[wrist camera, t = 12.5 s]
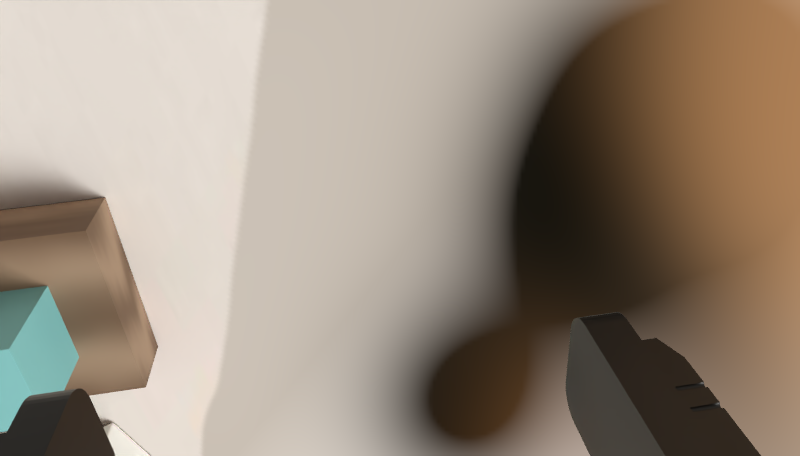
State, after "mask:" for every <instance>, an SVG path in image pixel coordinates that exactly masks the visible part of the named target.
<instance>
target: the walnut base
mask: <svg viewBox="0 0 800 456" xmlns="http://www.w3.org/2000/svg"><path fill="white" fill-rule="evenodd" d="M41 286H48V288H49V290H50V292H51V295H52V297H53V299H54V301H55V304H56V306H57V308H58V310H59V313H60V315H61V317H62V319H63V322H64V324H65V326H66V328H67V331H68V333H69V335H70V337H71V340H72V342H73V344H74V346H75V349H76V351H77V353H78V355H79V359H78V361H77V363H76V365H75V367H74V370H73V372H72V374H71V376H70V378H69V381H68V383H67V385H66V387H65V390H71V389H78V388H81V389H83V390H85V391H86V392H87V394H88V395H96V394H102V393H109V392H116V391H123V390H130V389H137V388H144V387H146V385H147V381H148V378H149V375H150V371H151V368H152V365H153V361H154V358H155V355H156V351H157V348H158V346H157V343H156V340H155V337H154V334H153V331H152V329H151V326H150V323H149V320H148V317H147V314H146V312H145V309H144V306H143V303H142V300H141V298H140V295H139V292H138V289H137V286H136V283H135V281H134V278H133V275H132V272H131V269H130V266H129V264H128V261H127V258H126V255H125V252H124V249H123V247H122V244H121V241H120V238H119V235H118V232H117V230H116V227H115V224H114V221H113V218H112V215H111V213H110V210H109V207H108V204H107V201H106V198H98V199H89V200H81V201H73V202H65V203H56V204H48V205H40V206H31V207H23V208H15V209H6V210H0V292H3V291H11V290H18V289H26V288H33V287H41Z"/></svg>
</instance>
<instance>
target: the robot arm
mask: <svg viewBox="0 0 800 456" xmlns="http://www.w3.org/2000/svg"><path fill="white" fill-rule="evenodd" d="M566 395H567V401H568V406H569V410H570V413H571V416H572V418H573V421H574V423H575V425H576V427H577V429H578V431H579V433H580V435H581V437H582V439H583V441H584V443H585V446H586V448H587V450H588V452H589V454H590V456H761V455H760V454H759V453H758V451H757V450H756V449H755V447H754V446H753V445H752V444H751V442H750V441H749V440H748V438H747V437H746V436H745V435H744V433H743V432H742V431H741V429H740V428H739V427H738V426H737V424H736V423H735V422H734V420H733V419H732V418H731V417H730V415H729V414H728V413H727V411H726V410H725V409H724V408H721V407H720V402H719V401H718V400H717V399H716V397H715V396H714V395H713V393H712V392H711V391H710V389H709V388H708V387H705V386H704V382H703V380H702V379H701V378H700V377H699V375H698V374H697V373H696V371H695V370H694V369H693V368H692V366H691V365H690V364H689V362H688V361H687V360H686V359H685V357H683V356H682V355H680V354H679V353H677V352H676V351H674V350H673V349H672V348H670V347H668V346H667V345H666V344H664V343H663V342H661V341H660V340H658V339H657V338H654V339H647V340H641V339H640V337H639V336H638V335H637V333H636V332H635V330H634V329H633V327H632V326H631V325H630V323H629V322H628V320H627V319H626V318H625V317H624V316H623V315H622V314H621V313H618V312H616V313H609V314H602V315H595V316H588V317H581V318H576V319H574V320H573V322H572V325H571V333H570V344H569V354H568V365H567V376H566ZM0 456H115V453H114V450H113V448H112V446H111V443H110V441H109V439H108V437H107V435H106V432H105V430H104V428H103V426H102V424H101V421H100V419H99V417H98V415H97V413H96V410H95V408H94V406H93V404H92V401H91V399H90V397H89V395H88V394H87V392H86V391H85V390H83V389H81V388H78V389H71V390H64V391H57V392H50V393H43V394H36V395H31V396H29V397H27V398H26V399H25V400H24V401H23V403H22V404H21V406H20V408H19V410H18V412H17V414H16V416H15V418H14V419H13V421H12V423H11V425H10V427H9V429H8V431H7V433H3V434H0Z"/></svg>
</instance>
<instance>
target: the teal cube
mask: <svg viewBox="0 0 800 456" xmlns="http://www.w3.org/2000/svg"><path fill="white" fill-rule="evenodd" d="M78 359H79V355H78V353H77V351H76V349H75V346H74V344H73V342H72V340H71V337H70V335H69V333H68V331H67V328H66V326H65V324H64V322H63V319H62V317H61V315H60V313H59V310H58V308H57V306H56V304H55V301H54V299H53V297H52V295H51V292H50V290H49V288H48V286H41V287H33V288H26V289H18V290H11V291H3V292H0V432H5V431H8V429H9V427H10V425H11V423H12V421H13V419H14V418H15V416H16V414H17V412H18V410H19V408H20V406H21V404H22V403H23V401H24V400H25V399H26V398H27V397H29V396H31V395H36V394H43V393H50V392H57V391H64V390H65V387H66V385H67V383H68V381H69V378H70V376H71V374H72V372H73V370H74V367H75V365H76V363H77V361H78Z"/></svg>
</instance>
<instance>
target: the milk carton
mask: <svg viewBox="0 0 800 456" xmlns="http://www.w3.org/2000/svg"><path fill="white" fill-rule="evenodd" d="M103 428H104V430H105V432H106V435H107V437H108V439H109V441H110V443H111V446H112V448H113V450H114V453H115V456H150V455H149V454H148V453H147V452H145V451H144V450H143V449H142V448H141V447H140V446H139V445H138V444H137V443H135V442H134V441H133V440H132V439H131V438H130V437H129V436H128V435H126V434H125V433H124V432H123V431H122V430H121V429H120V428H119V427H117V426H116V425H115V424H114V423H111V424H109V425H107V426H104V427H103Z"/></svg>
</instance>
